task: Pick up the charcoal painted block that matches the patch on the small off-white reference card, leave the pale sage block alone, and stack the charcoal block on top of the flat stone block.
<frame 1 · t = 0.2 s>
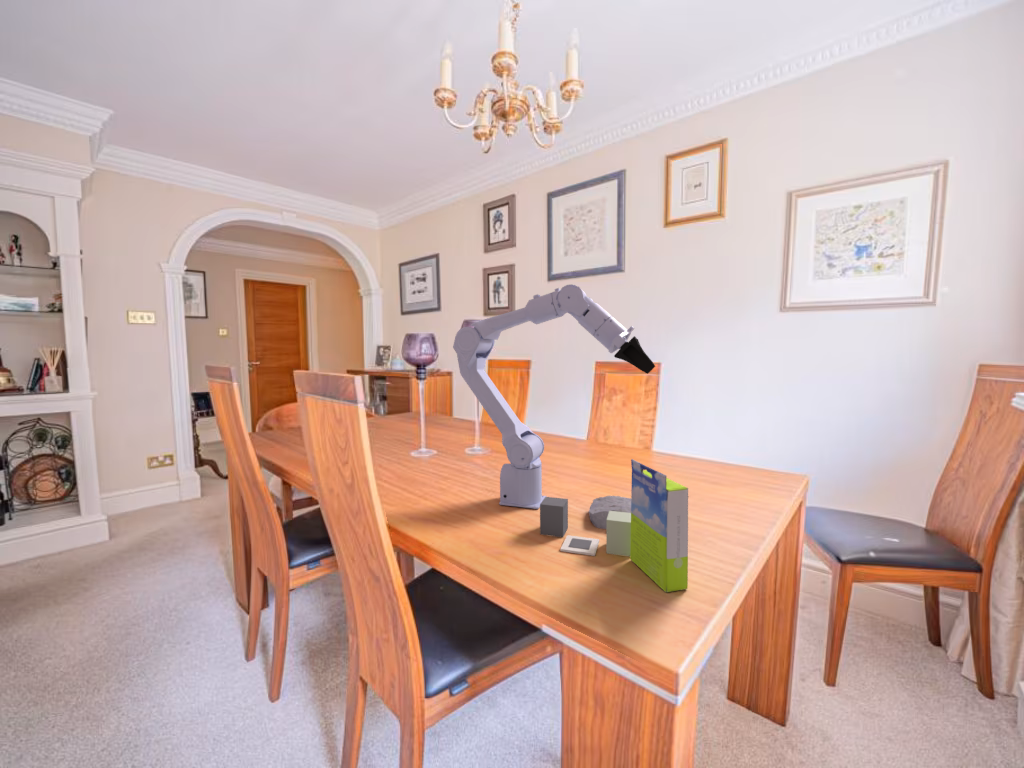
hand: (651, 369, 87), 31 cm above the table, tool tilted 45°, fingers open, 7 cm apart
charcoal block: (554, 531, 83), on the table
reference card: (580, 546, 76), on the table
sage block: (620, 549, 75), on the table
stone block: (612, 520, 89), on the table
box: (656, 575, 66), on the table
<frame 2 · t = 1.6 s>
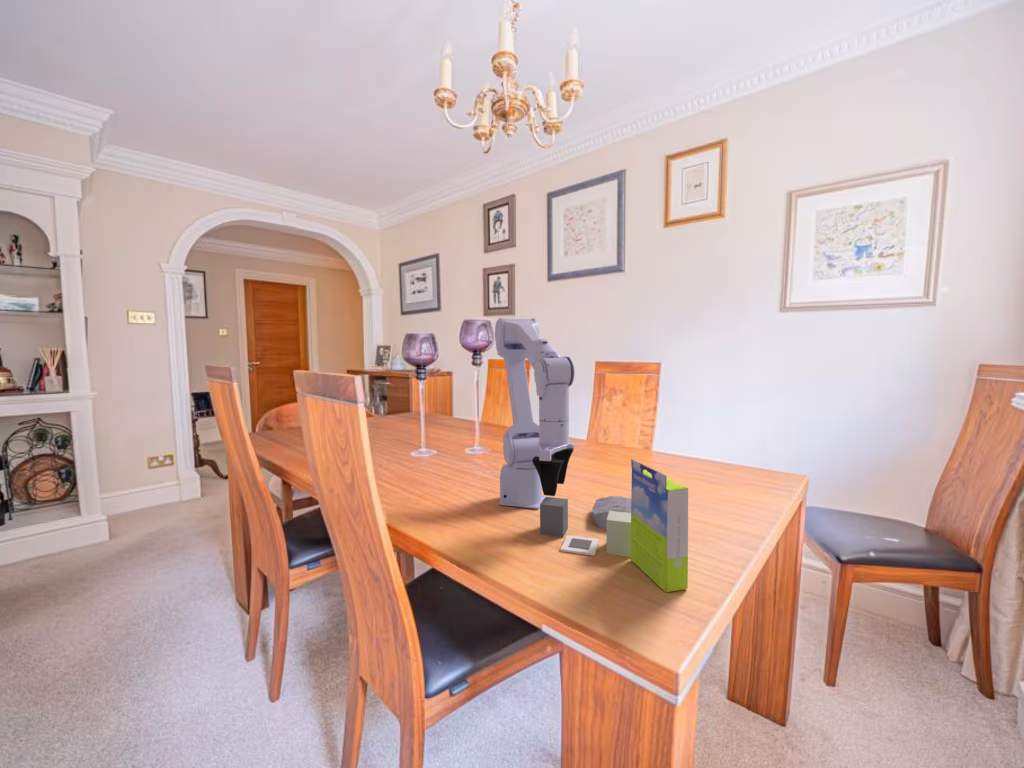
hand: (554, 489, 82), 8 cm above the table, tool pointing down, fingers open, 7 cm apart
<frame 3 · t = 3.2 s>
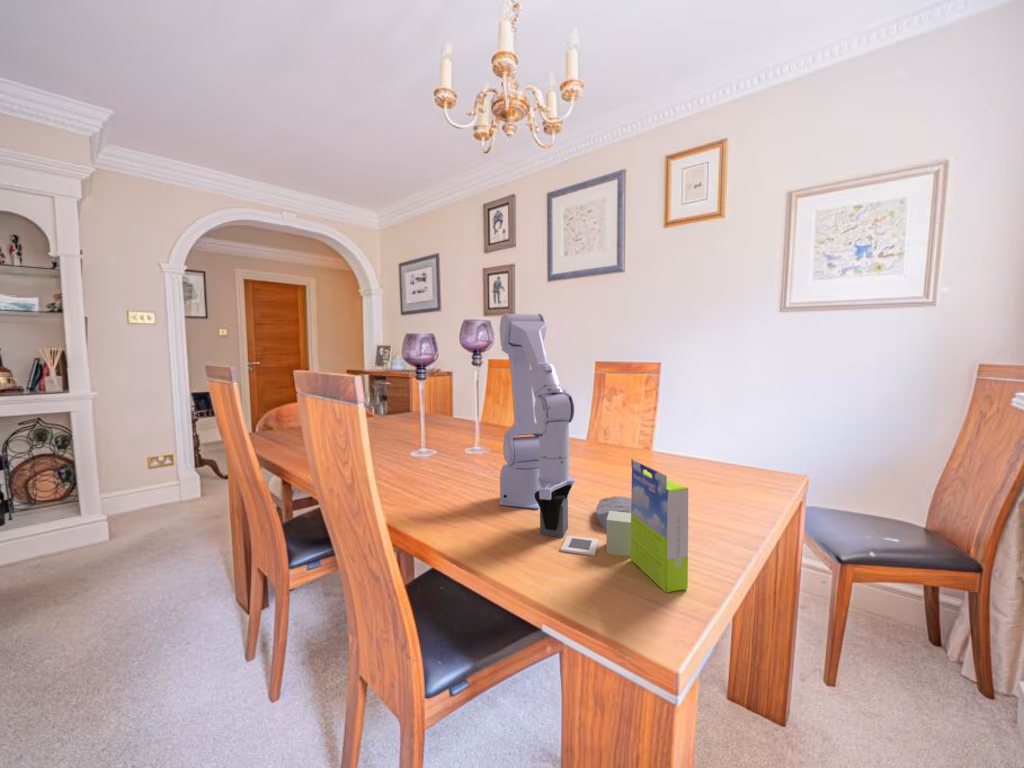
hand: (554, 524, 83), 1 cm above the table, tool pointing down, fingers closed on charcoal block, 4 cm apart
charcoal block: (554, 531, 83), on the table, touching gripper
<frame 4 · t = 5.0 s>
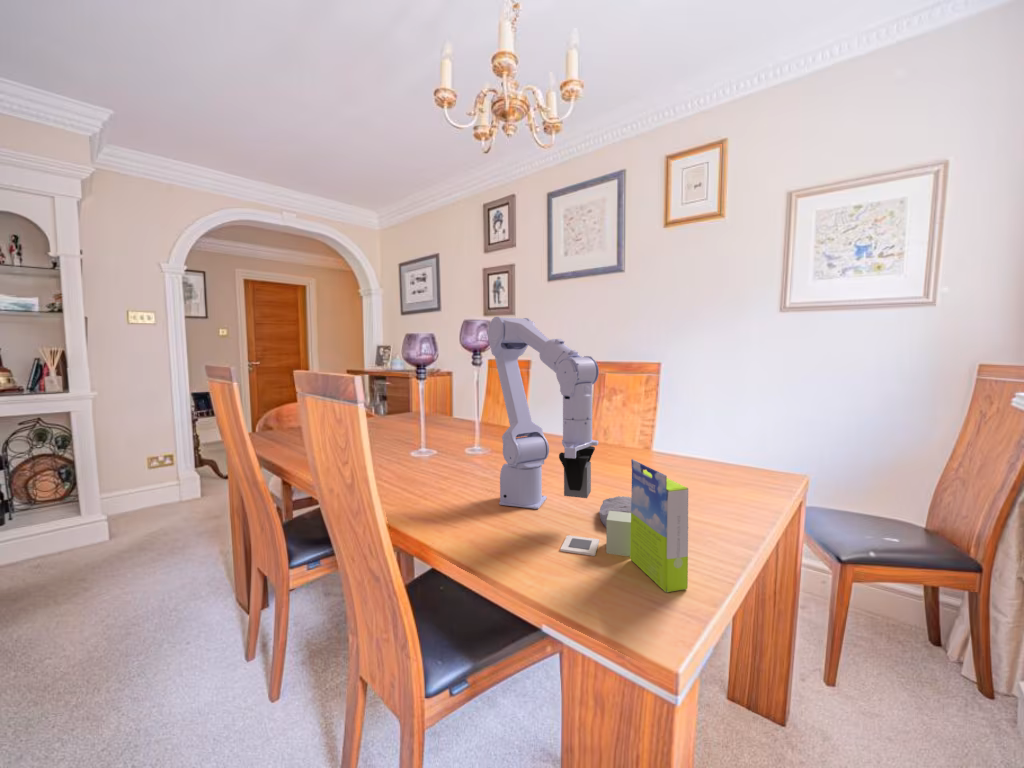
hand: (577, 486, 84), 8 cm above the table, tool pointing down, fingers closed on charcoal block, 4 cm apart
charcoal block: (577, 493, 84), point 7 cm above the table, touching gripper
when the fingers open (7 cm above the table, at t = 6.8 s): charcoal block drops 1 cm, point 4 cm above the table.
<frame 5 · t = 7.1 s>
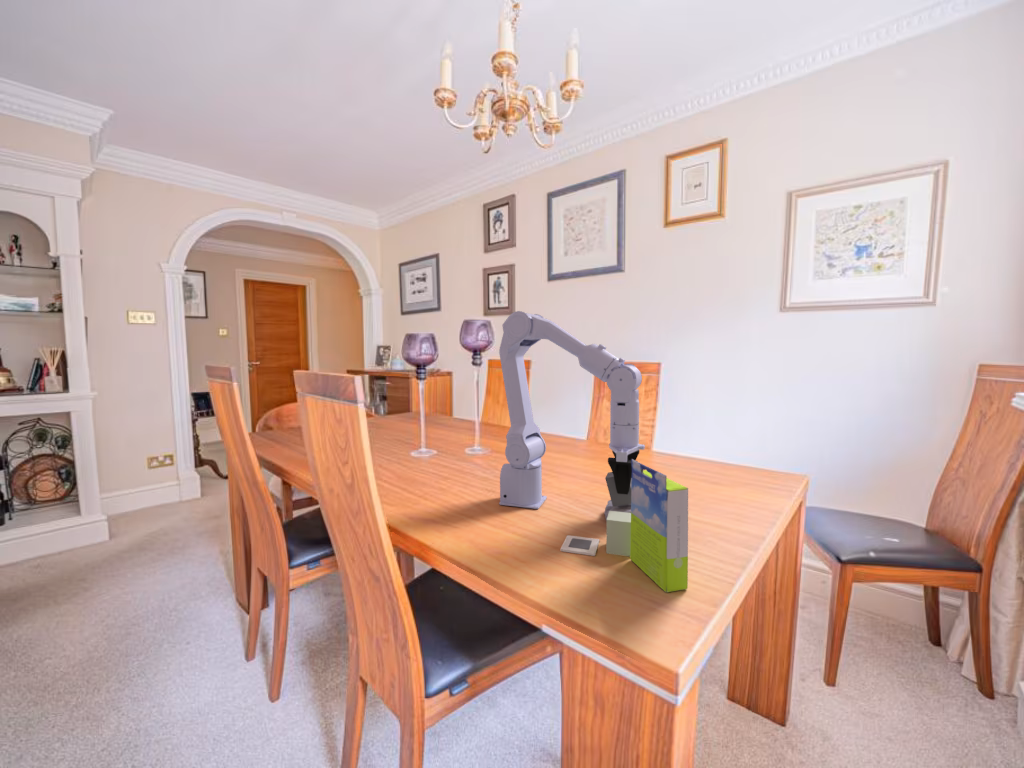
hand: (624, 488, 88), 7 cm above the table, tool pointing down, fingers open, 7 cm apart
charcoal block: (624, 501, 88), point 4 cm above the table, tilted 15°
stone block: (628, 522, 88), on the table
everything else where it was.
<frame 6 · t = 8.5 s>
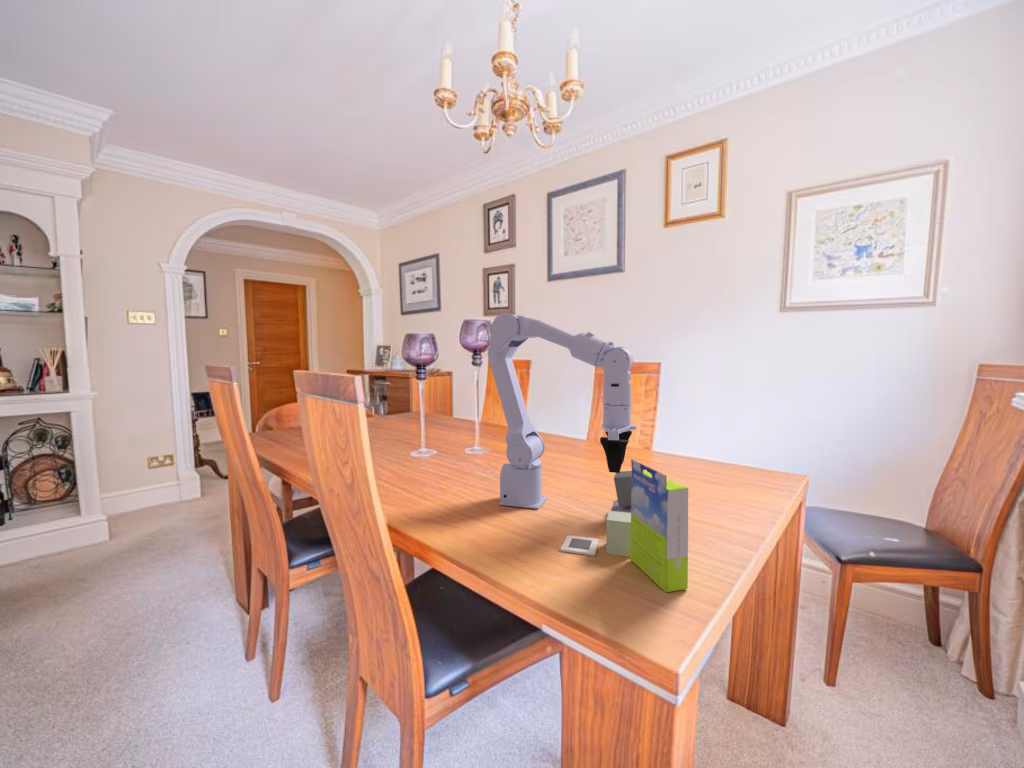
hand: (616, 467, 90), 10 cm above the table, tool pointing down, fingers open, 7 cm apart
charcoal block: (631, 502, 88), point 4 cm above the table, tilted 10°, touching stone block
stone block: (634, 522, 88), on the table, touching charcoal block
everything else where it was.
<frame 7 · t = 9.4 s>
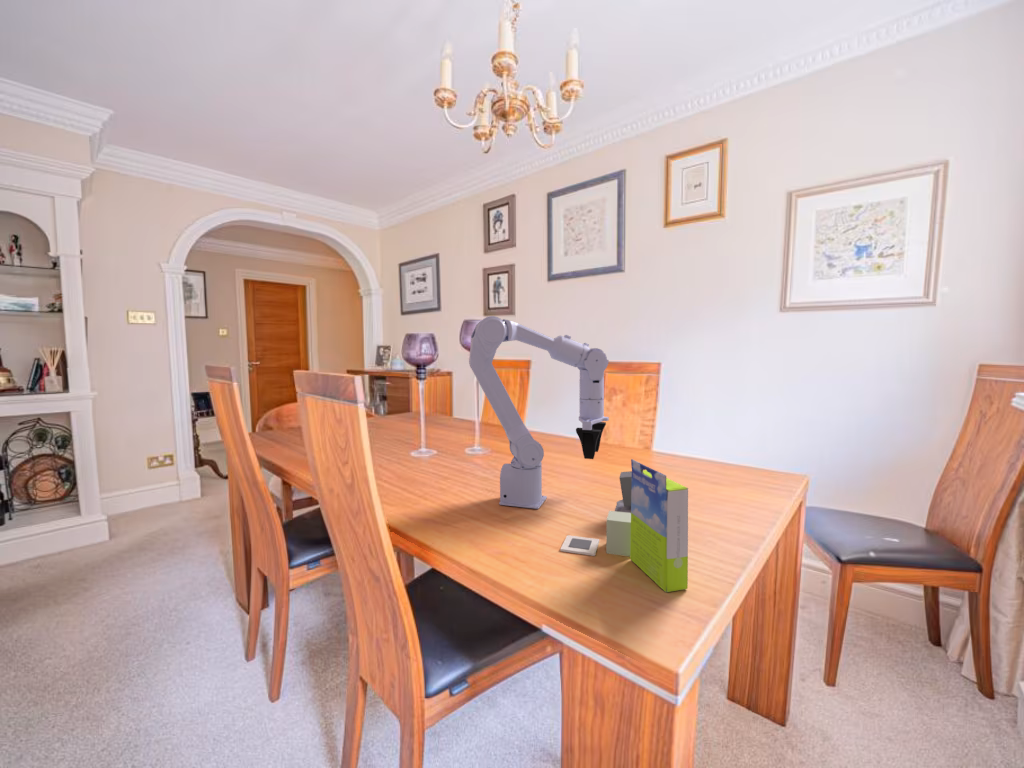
hand: (591, 454, 102), 10 cm above the table, tool pointing down, fingers open, 7 cm apart
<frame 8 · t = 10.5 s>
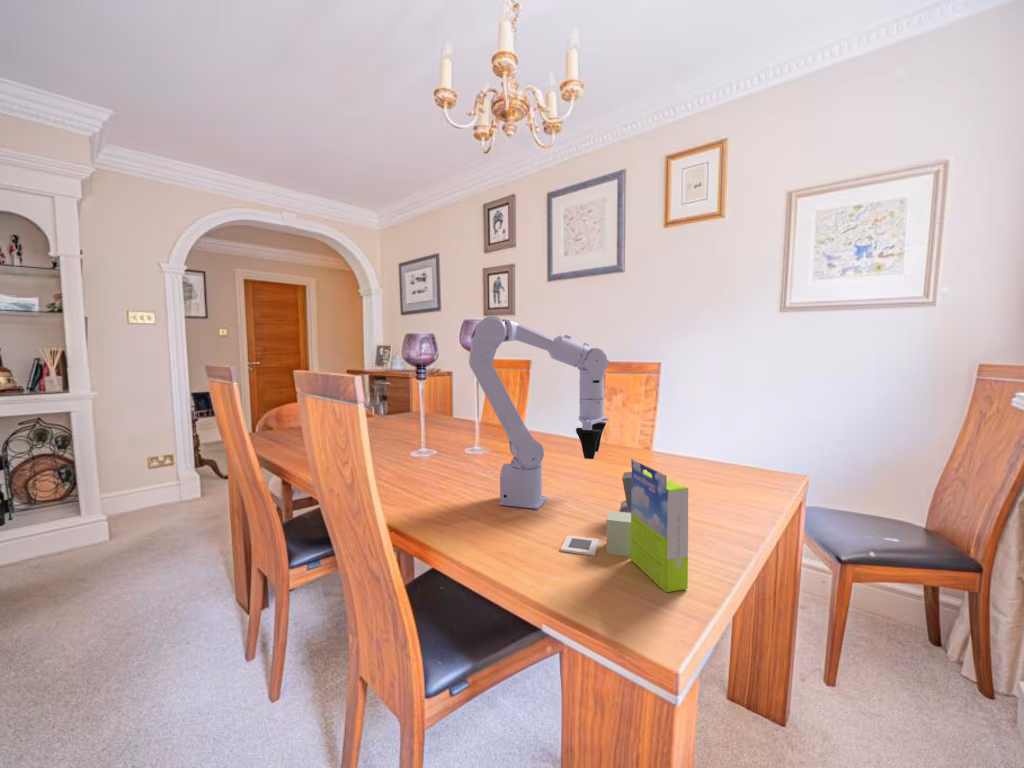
hand: (591, 454, 102), 10 cm above the table, tool pointing down, fingers open, 7 cm apart
charcoal block: (639, 502, 88), point 4 cm above the table, tilted 11°
stone block: (643, 523, 88), on the table
everything else where it was.
at the end: charcoal block inside the target area on the stone block (0.8 cm from its centre), point 4.3 cm above the stone block's base; charcoal block tilted 9°; sage block moved 0.1 cm from its start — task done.
